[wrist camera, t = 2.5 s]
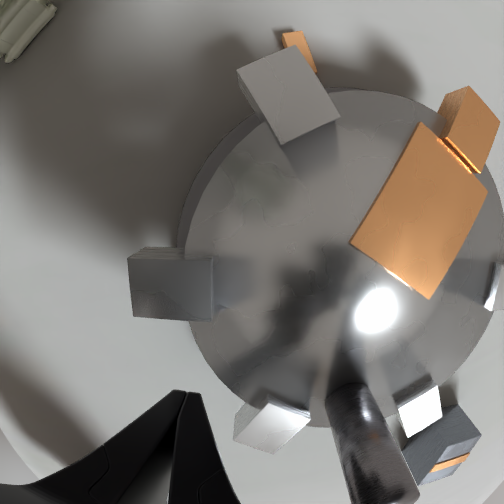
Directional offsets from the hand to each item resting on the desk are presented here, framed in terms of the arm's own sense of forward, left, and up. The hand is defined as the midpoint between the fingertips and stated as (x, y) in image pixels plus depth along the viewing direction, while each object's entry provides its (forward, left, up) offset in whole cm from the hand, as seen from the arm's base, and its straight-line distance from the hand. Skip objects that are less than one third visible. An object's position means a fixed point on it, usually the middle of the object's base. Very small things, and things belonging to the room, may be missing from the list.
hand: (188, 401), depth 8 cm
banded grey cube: (-7, -15, -5) cm, 17 cm away
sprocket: (+4, -6, -3) cm, 7 cm away
